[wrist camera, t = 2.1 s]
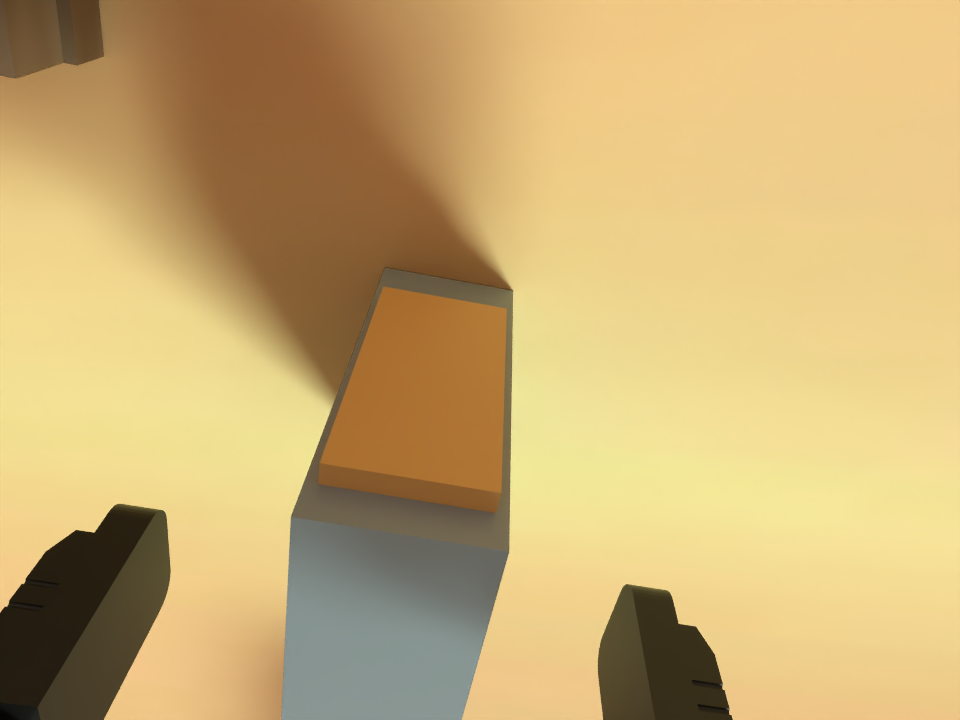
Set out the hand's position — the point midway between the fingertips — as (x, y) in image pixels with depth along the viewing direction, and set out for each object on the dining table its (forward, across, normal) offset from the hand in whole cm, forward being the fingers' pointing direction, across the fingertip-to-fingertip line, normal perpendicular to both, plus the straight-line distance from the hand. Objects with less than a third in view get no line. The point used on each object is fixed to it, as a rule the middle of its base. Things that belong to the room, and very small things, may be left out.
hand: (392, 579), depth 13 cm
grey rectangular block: (+6, 0, 0) cm, 6 cm away
